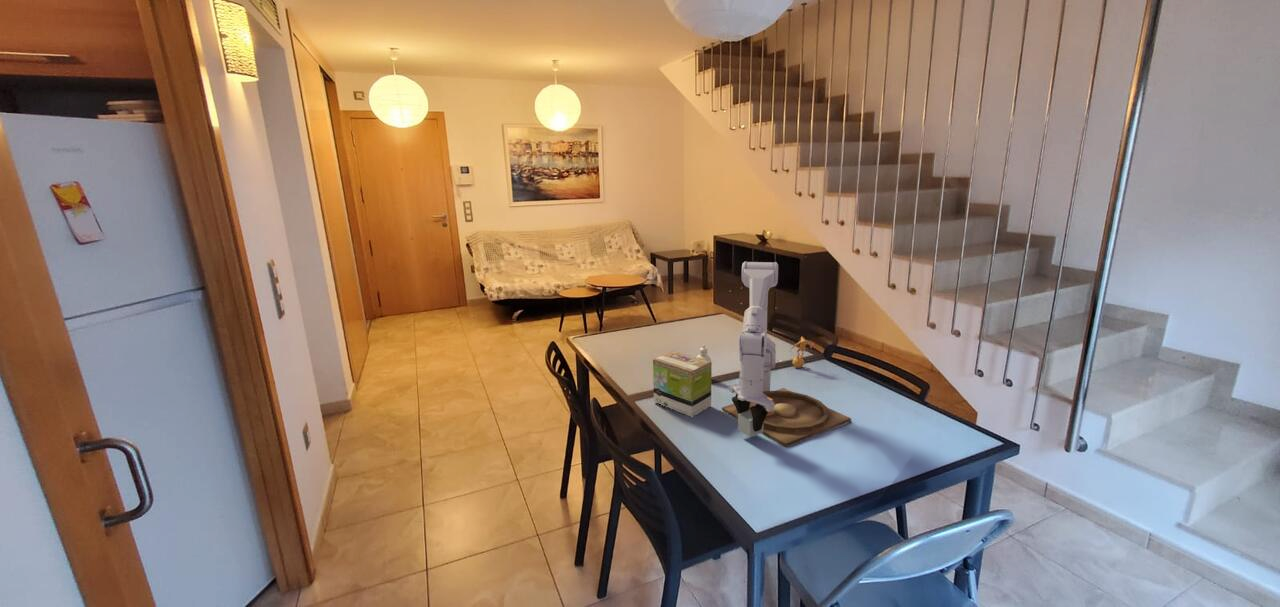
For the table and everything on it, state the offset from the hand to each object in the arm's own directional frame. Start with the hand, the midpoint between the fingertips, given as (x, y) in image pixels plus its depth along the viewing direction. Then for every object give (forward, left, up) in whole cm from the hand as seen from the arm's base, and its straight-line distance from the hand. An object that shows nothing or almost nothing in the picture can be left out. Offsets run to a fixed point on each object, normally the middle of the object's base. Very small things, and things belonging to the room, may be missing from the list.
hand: (750, 426), depth 134 cm
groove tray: (-4, +16, -3) cm, 17 cm away
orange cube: (-7, +10, -2) cm, 13 cm away
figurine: (-27, +47, -4) cm, 55 cm away
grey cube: (0, 0, -1) cm, 1 cm away
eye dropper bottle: (-39, +14, -4) cm, 42 cm away
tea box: (-26, -4, -4) cm, 27 cm away
